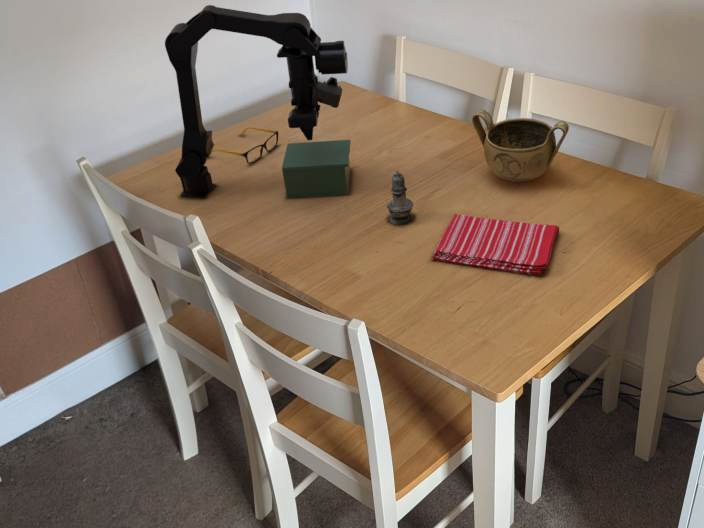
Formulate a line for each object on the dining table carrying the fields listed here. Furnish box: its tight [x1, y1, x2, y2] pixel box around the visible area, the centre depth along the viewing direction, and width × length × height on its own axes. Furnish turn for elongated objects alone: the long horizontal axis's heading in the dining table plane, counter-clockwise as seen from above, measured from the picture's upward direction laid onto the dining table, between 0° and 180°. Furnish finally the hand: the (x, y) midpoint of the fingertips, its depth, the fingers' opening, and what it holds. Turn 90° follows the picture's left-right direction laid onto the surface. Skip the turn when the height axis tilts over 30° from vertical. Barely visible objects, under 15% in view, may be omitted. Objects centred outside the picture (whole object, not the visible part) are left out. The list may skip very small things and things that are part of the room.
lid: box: [281, 139, 351, 171], centre depth 190 cm, size 15×13×1 cm
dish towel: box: [431, 213, 560, 277], centre depth 166 cm, size 17×24×3 cm
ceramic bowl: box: [471, 108, 570, 183], centre depth 186 cm, size 22×17×15 cm
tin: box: [281, 160, 351, 199], centre depth 192 cm, size 15×13×7 cm
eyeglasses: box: [209, 126, 279, 165], centre depth 211 cm, size 14×14×4 cm
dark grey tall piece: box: [386, 170, 414, 226], centre depth 175 cm, size 6×6×12 cm
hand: (310, 139), depth 187 cm, fingers closed
